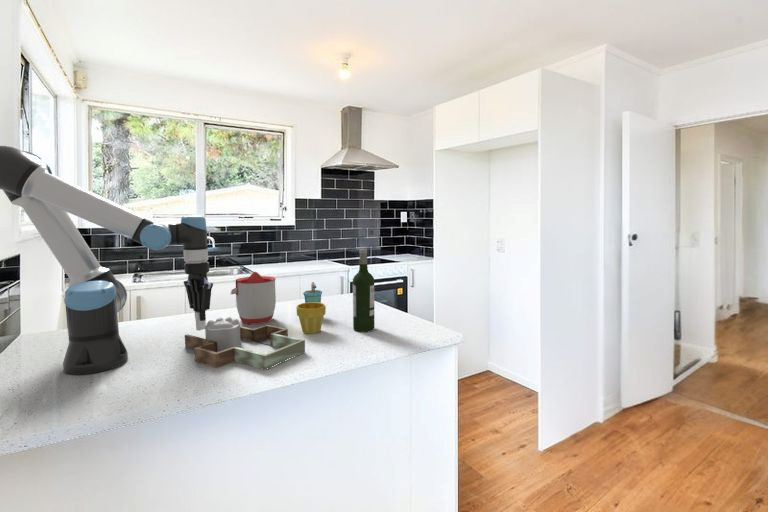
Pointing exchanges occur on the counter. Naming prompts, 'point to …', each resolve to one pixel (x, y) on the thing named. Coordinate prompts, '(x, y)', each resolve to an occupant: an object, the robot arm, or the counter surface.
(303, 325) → the plant pot
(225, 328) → the lumpy-topped squat cylinder
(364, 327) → the wine bottle
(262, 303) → the citrus juicer
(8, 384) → the counter surface
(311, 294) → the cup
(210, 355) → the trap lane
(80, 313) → the robot arm
